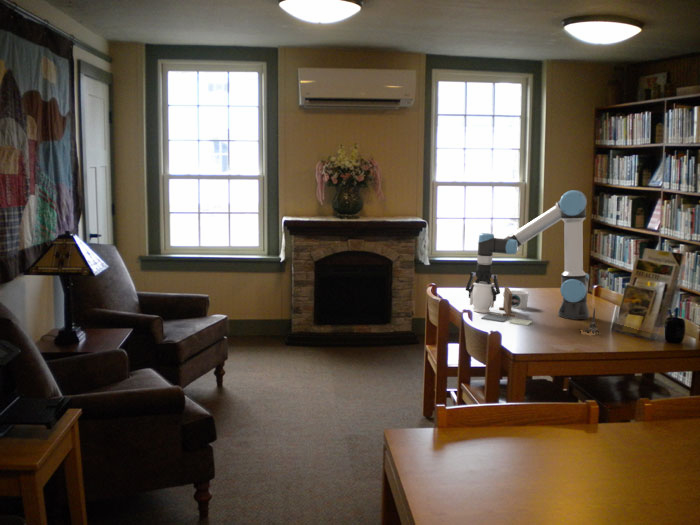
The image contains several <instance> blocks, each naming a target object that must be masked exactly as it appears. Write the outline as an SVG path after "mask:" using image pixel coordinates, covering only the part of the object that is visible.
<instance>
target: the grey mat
mask: <svg viewBox="0 0 700 525" xmlns="http://www.w3.org/2000/svg"><path fill="white" fill-rule="evenodd" d="M480 319H481V320H484V321H492V322H500V323H505V321H507V320H509V319H510V317H508V316H503V315H498V314H491V313H487V314H485V315H484V316H481V318H480Z"/></svg>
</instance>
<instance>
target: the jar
mask: <svg viewBox="0 0 700 525" xmlns="http://www.w3.org/2000/svg"><path fill="white" fill-rule="evenodd" d="M491 283H492V284H487V282H484V281H479V282H478V284H477V283H475V281H472V285H474V287H473V291H472V299H473V304H472V305H473V307H474V308H473V312H475V313H481V314H486V313H487V314H489V313H491V310H490V308H491V296H492V295H493V293H492V290H491V287H492V286H493V287H495V285H494V282H491Z"/></svg>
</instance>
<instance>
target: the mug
mask: <svg viewBox="0 0 700 525" xmlns="http://www.w3.org/2000/svg"><path fill="white" fill-rule="evenodd" d="M510 291H511V292H512V307H511V309H518V310H524V309H527V307H528V302H529V301H528V300H529V292H528V291H525V290H516V289H515V290H510ZM502 296H503V297H504V292H502Z"/></svg>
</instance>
